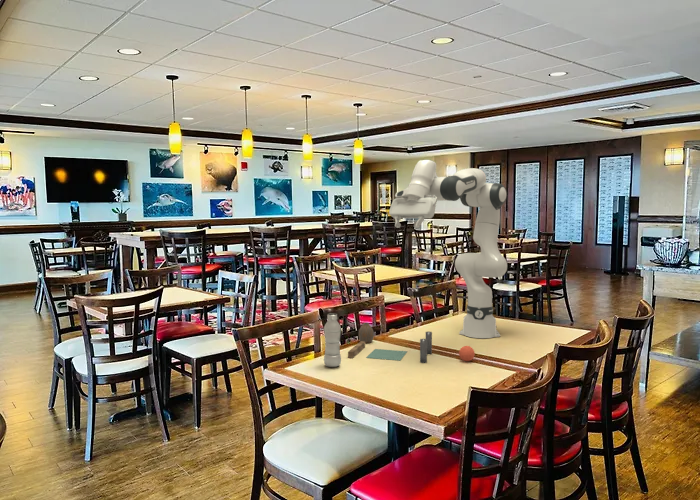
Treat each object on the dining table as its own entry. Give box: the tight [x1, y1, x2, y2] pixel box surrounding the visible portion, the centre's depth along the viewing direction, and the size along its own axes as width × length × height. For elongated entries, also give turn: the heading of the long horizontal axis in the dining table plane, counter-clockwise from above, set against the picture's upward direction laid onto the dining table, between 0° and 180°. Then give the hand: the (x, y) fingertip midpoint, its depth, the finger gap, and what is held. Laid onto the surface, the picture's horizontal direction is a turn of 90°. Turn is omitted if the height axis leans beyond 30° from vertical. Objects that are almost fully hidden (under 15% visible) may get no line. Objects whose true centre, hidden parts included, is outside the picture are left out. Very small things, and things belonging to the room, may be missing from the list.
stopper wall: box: [347, 340, 366, 359], centre depth 217 cm, size 18×2×2 cm, turn 163°
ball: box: [458, 345, 476, 362], centre depth 204 cm, size 6×6×6 cm
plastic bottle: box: [323, 313, 342, 368], centre depth 197 cm, size 6×7×20 cm
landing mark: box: [365, 348, 408, 362], centre depth 214 cm, size 14×14×1 cm
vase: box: [358, 322, 375, 344], centre depth 235 cm, size 7×7×9 cm
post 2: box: [425, 331, 433, 355], centre depth 215 cm, size 3×3×9 cm
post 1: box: [419, 338, 428, 364], centre depth 202 cm, size 3×3×9 cm
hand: (406, 227), depth 204 cm, fingers open, 8 cm apart
